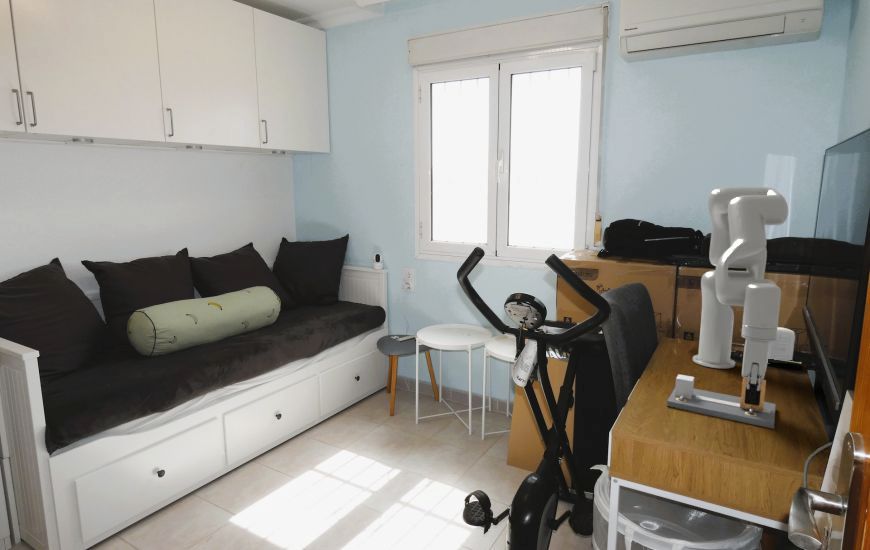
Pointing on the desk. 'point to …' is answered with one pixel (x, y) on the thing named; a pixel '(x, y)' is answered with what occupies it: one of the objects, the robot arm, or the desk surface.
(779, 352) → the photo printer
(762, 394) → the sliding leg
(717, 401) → the slide rail plate
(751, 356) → the robot arm
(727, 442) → the desk surface
